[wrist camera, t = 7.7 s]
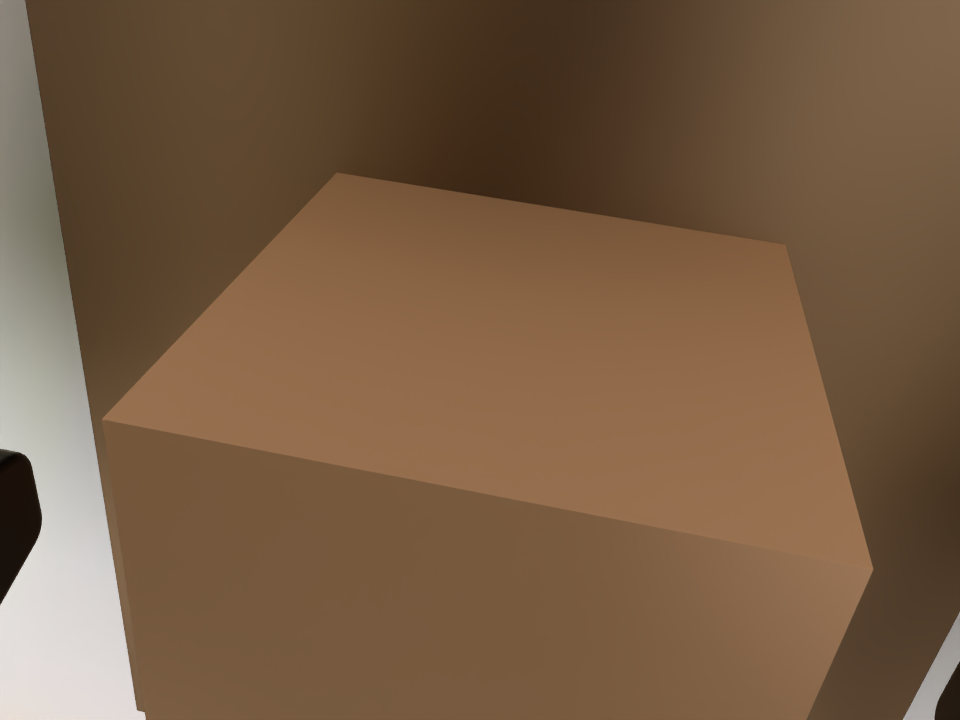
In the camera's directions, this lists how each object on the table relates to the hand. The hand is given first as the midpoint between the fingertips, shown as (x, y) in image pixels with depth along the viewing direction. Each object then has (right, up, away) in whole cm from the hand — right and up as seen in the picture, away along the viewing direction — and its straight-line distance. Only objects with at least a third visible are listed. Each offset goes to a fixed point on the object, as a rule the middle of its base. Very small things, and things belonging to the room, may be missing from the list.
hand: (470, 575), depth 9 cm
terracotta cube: (+1, +2, +3) cm, 3 cm away
